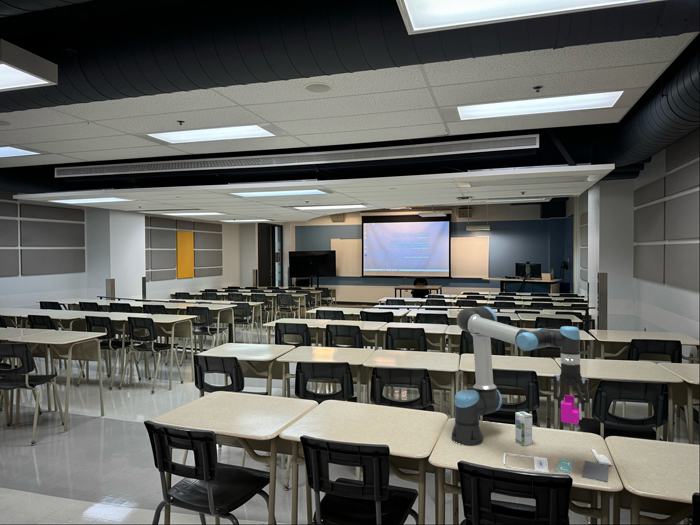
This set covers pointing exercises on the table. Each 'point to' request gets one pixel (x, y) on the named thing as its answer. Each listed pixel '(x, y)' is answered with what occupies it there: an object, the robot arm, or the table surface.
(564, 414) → the toy block
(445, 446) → the table surface
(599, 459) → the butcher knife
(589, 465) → the mat
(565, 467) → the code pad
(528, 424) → the syrup box
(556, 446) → the table surface
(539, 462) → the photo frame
